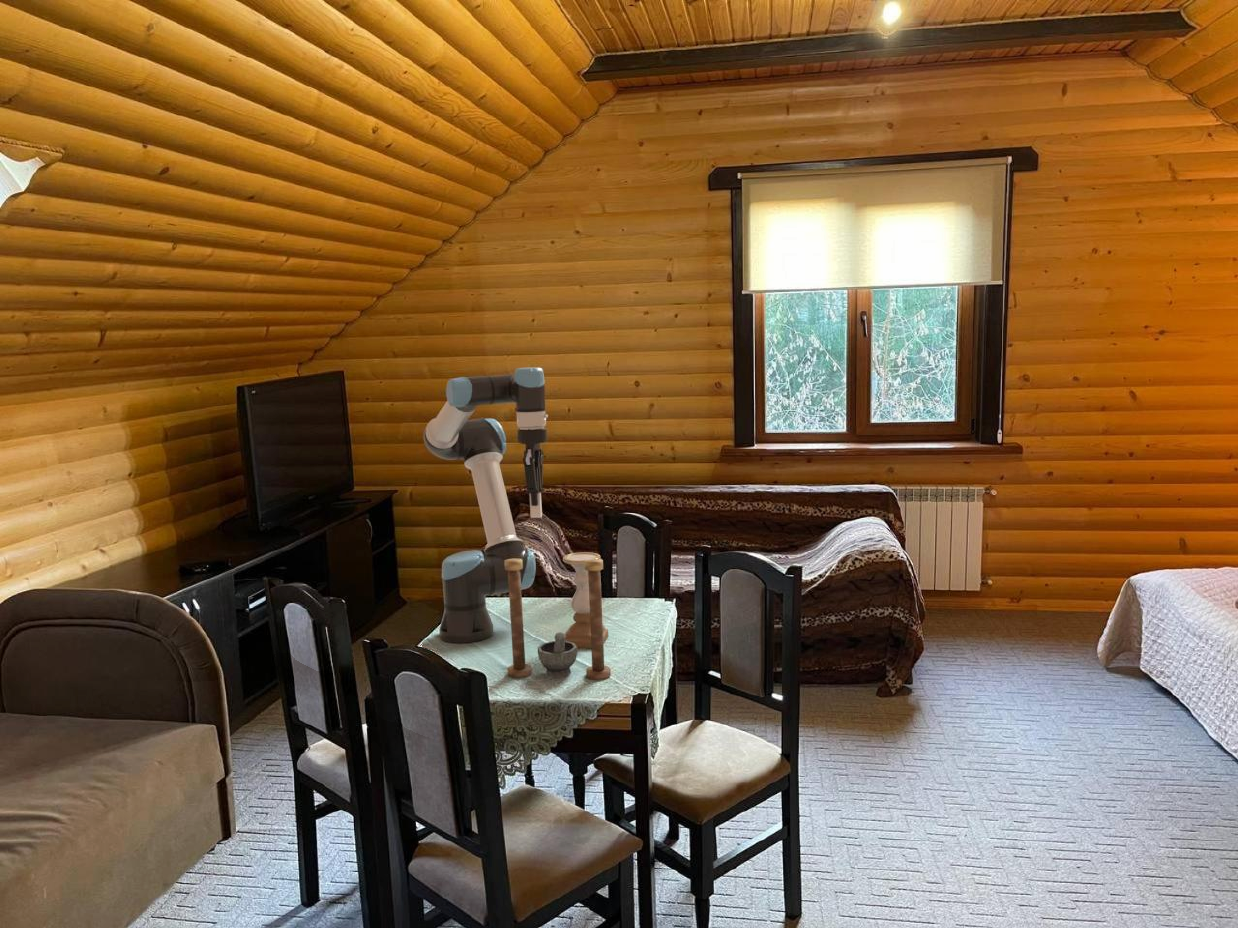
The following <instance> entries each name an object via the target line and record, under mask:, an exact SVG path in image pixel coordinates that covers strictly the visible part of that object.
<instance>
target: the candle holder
mask: <svg viewBox="0 0 1238 928" xmlns="http://www.w3.org/2000/svg"><path fill="white" fill-rule="evenodd" d="M588 559H601V555H600V554H599V553H596V552H592V551H591V552H587V551H583V552H574V553H573V552H572V553H568V554H566V555H564V556H563V557H562V561H563V562H564V563H565V564H568V565H572V567H573V569H574V570H575V576H574V577H573V579H572V580H573V581H572V582H574V584H575V586H576V591H575V593H574V595H573V597H572V598H571V600H570V608H571V610H572V611H573V612H575V613H574V614H573V616H572V617H573V618H572V619H573V621H574V622H575V623H572V624H571V625H570V626H569V627H568V629H567V630H566V631H565V633H564V634H565V635H566V640H565V641H568V642H572V643H575V645H576V646H577V649H591V628H590V605H589V582H588V571H587V570H585V560H588ZM608 637H609V630H608V628H606V626H605V624H603V645H604V644H605V642H606V641H607V639H608Z"/></svg>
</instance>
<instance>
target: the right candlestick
mask: <svg viewBox="0 0 1238 928" xmlns="http://www.w3.org/2000/svg"><path fill="white" fill-rule="evenodd" d="M585 570H587V571H588V582H589V605H590V628H591V648H590V649H591V650H590V651H591V652H590V653H591V666H588V667H587V668H586V669H585V675H586V678H587V679H589V680H594V681H602V680H606V679H609V678H610V677H611V673H612V672H611V671H612V670H611V667H610V666H608V665H605V653H604V652H605V651H604V649H605V648H604V644H603V625H604V624H603V605H602V601H603V600H602V582H601V579H602V577H601V575H602V574H601V571H602V570H604V560H603V559H602V558H600V559H588V560H585Z"/></svg>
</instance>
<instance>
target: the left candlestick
mask: <svg viewBox="0 0 1238 928" xmlns="http://www.w3.org/2000/svg"><path fill="white" fill-rule="evenodd" d="M504 562H505V570H508V582H509V592H508V597H509V612H510V613H509V614H510V615H509V616H510V631H511V632H510V634H511V646H512V647H511V648H512V649H511V651H512V663H513V664H512V665H509V666H508V667H507V668H506V669H507V676H508V677H509V678H512V679H524V678H527V677H530V676H531V675H532V674H533V671H532V670H533V669H532V665H531V664H528V663H527V664H526V655H525V653H526V651H525V637H524V636H525V634H524V617H523V615H524V614H523V598H522V597H523V596H522V590H521V577H520V570H521V569H523V561H522V559H518V558H514V559H507V560H505V561H504Z"/></svg>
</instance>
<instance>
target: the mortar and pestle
mask: <svg viewBox="0 0 1238 928" xmlns="http://www.w3.org/2000/svg"><path fill="white" fill-rule="evenodd" d="M565 640H566V635H565V633H564V632H557V633H555V635H554V640H552V641H551V640H550V641H548V642H543V643H542V644H540V645H539V646H537V655H538V658H539V659H538V660H539V661H540V664H541V665H542V667H543V668H544V669H545V675H546V676H547V678H551V679H563V678H567V677H569V676H570V675H571V673H572V672H571V671H572V670H571V667H572V666H573V665H574V664H575V662H576V659H577V658H578V657H577V656H578V648H577V646H576V645H575V643H572V642H568V641H565Z"/></svg>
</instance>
